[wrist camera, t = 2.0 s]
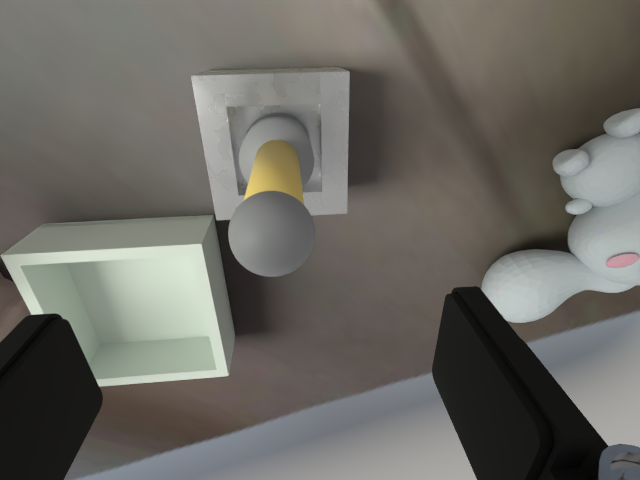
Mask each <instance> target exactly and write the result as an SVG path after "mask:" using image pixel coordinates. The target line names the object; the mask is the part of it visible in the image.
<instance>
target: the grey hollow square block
mask: <svg viewBox="0 0 640 480" xmlns="http://www.w3.org/2000/svg"><path fill="white" fill-rule="evenodd" d="M191 79H192V84H193V90H194V96H195V101H196V107H197V113H198V118H199V124H200V130H201V135H202V141H203V147H204V152H205V158H206V164H207V169H208V175H209V181H210V186H211V192H212V198H213V203H214V209H215V215H216V220H231V218H232V215H233V213H234V212H235V210H236V209H237V207H238V206H239V205H240V204H241V203H242V202H243V201H244V198H245V194H246V190H247V186H248V182H247V181H246V180H245V178H244V177H243V175H242V172H241V169H240V165H239V153H240V148H241V146H242V143H243V141H244V138H245V136H246V134H247V131H248V129H249V128H250V126H251V125H252V123H253V122H254V121H255V120H257V119H258V118H259V117H261V116H263V115H265V114H269V113H275V112H277V113H285V114H288V115H290V116H292V117H294V118H296V119H297V120H298V121H299V122H300V123H301V124H302V125H303V126H304V127H305V129H306V131H307V133H308V136H309V139H310V142H311V146H312V150H313V154H314V168H313V172H312V175H311V177H310V179H309V181H308V182H307V183H306V185H305V186H304V187H303V188H302V190H303V198H304V206H305V207H306V208H307V209H308V211H309V213H310V214H311V215H327V214H346V213H347V189H348V135H349V81H350V71H347V70H345V69H343V68H340V67H310V68H272V69H234V70H207V71H204V72H201V73H198V74H195V75H192V76H191Z"/></svg>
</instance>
